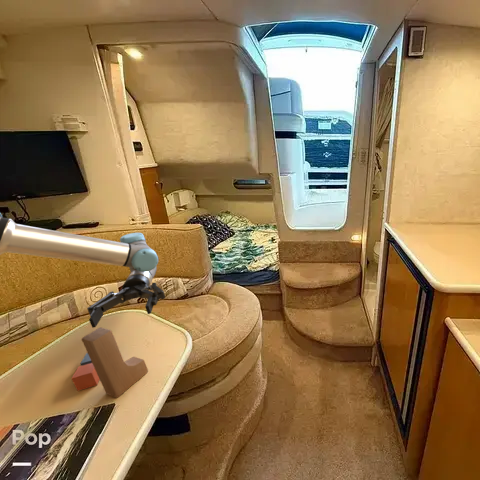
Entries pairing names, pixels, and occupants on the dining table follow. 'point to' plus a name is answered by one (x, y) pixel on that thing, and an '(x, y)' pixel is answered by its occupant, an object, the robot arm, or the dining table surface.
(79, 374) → the cube row
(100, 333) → the wooden block
